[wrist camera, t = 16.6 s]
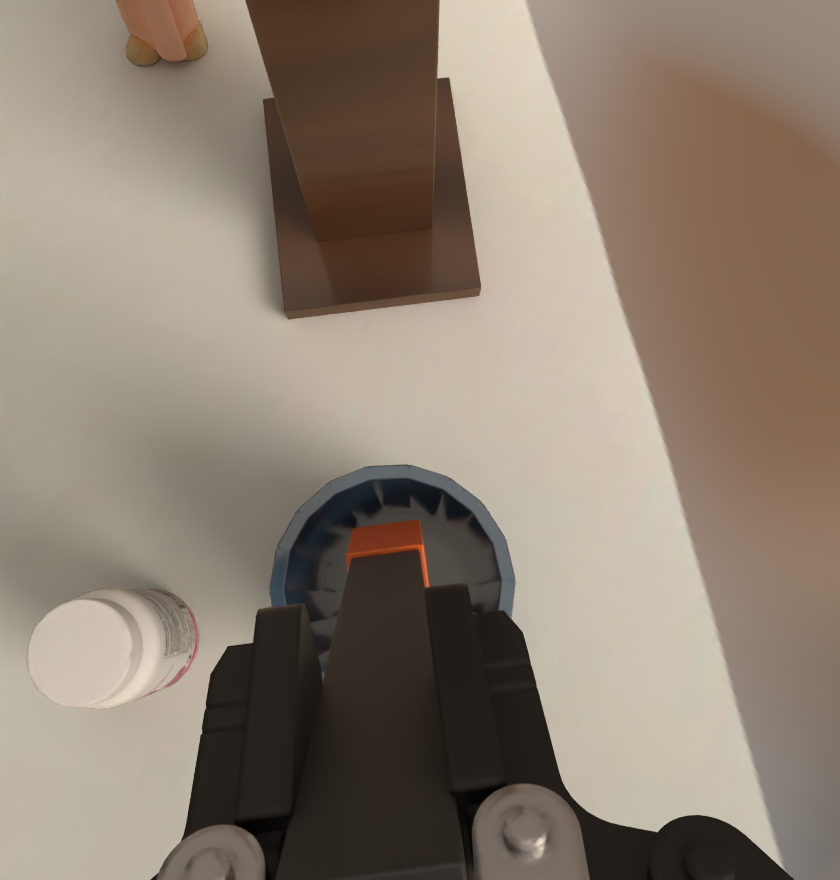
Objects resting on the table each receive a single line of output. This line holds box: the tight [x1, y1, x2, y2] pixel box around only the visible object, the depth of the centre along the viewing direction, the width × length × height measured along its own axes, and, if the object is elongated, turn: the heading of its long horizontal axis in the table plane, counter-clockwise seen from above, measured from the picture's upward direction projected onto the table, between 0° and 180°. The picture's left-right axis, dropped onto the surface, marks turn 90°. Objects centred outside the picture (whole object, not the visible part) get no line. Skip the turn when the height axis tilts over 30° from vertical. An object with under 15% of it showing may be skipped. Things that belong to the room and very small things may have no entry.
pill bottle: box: [27, 589, 199, 709], centre depth 34 cm, size 5×5×8 cm
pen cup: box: [269, 465, 515, 680], centre depth 33 cm, size 8×8×12 cm
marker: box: [275, 520, 468, 880], centre depth 17 cm, size 20×2×2 cm
